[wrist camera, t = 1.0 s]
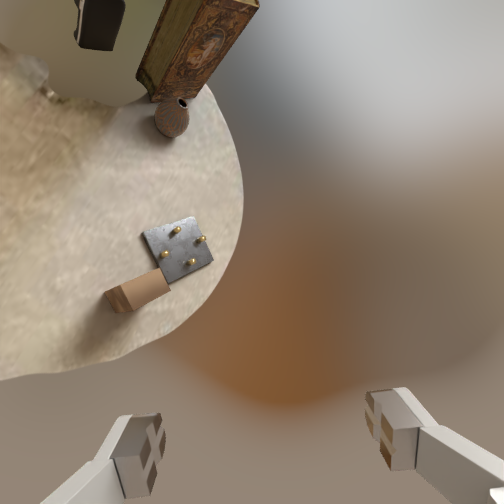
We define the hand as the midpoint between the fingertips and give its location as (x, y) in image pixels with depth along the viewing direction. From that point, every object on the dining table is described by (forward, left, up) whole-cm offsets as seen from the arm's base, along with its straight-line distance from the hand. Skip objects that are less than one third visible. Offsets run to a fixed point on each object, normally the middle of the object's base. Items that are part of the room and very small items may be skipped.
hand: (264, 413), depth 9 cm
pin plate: (-9, +21, -39) cm, 45 cm away
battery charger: (-54, +23, -39) cm, 70 cm away
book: (-46, +37, -39) cm, 71 cm away
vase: (-36, +31, -39) cm, 61 cm away
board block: (-5, +8, -39) cm, 40 cm away
